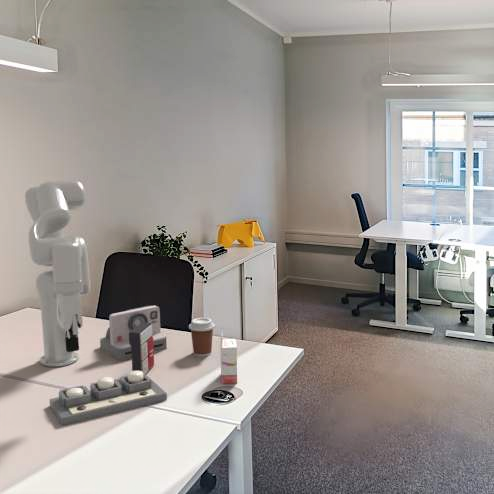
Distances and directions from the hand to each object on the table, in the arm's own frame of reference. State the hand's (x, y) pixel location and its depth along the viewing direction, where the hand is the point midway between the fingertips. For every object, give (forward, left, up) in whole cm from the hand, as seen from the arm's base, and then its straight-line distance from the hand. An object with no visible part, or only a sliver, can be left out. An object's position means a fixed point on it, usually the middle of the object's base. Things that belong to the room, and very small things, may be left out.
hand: (72, 350), depth 165 cm
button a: (0, 0, -14) cm, 14 cm away
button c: (0, +18, -13) cm, 22 cm away
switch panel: (+2, +9, -17) cm, 19 cm away
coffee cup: (-20, +50, -17) cm, 56 cm away
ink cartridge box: (+5, +47, -17) cm, 50 cm away
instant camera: (-38, +31, -17) cm, 52 cm away
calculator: (-15, +26, -17) cm, 34 cm away
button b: (0, +9, -13) cm, 16 cm away
